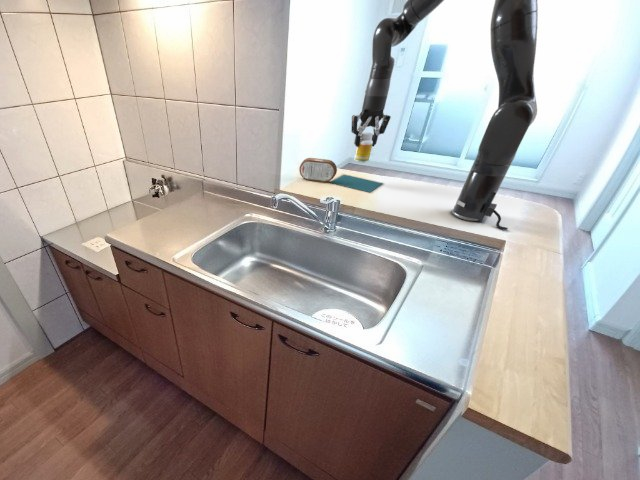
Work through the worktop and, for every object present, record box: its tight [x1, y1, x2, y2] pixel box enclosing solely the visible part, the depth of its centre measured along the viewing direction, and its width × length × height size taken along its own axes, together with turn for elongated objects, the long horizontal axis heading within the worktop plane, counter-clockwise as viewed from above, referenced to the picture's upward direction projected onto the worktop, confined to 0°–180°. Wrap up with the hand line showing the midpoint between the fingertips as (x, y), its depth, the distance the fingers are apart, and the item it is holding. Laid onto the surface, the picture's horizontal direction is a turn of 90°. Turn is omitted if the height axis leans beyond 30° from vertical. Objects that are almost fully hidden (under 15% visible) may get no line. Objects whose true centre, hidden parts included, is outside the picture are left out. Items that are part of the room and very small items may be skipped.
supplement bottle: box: [353, 132, 374, 164], centre depth 123 cm, size 5×5×10 cm
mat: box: [329, 174, 384, 193], centre depth 132 cm, size 17×13×1 cm
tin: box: [298, 157, 338, 183], centre depth 132 cm, size 15×3×8 cm, turn 66°
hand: (364, 145), depth 123 cm, fingers closed on supplement bottle, 5 cm apart
